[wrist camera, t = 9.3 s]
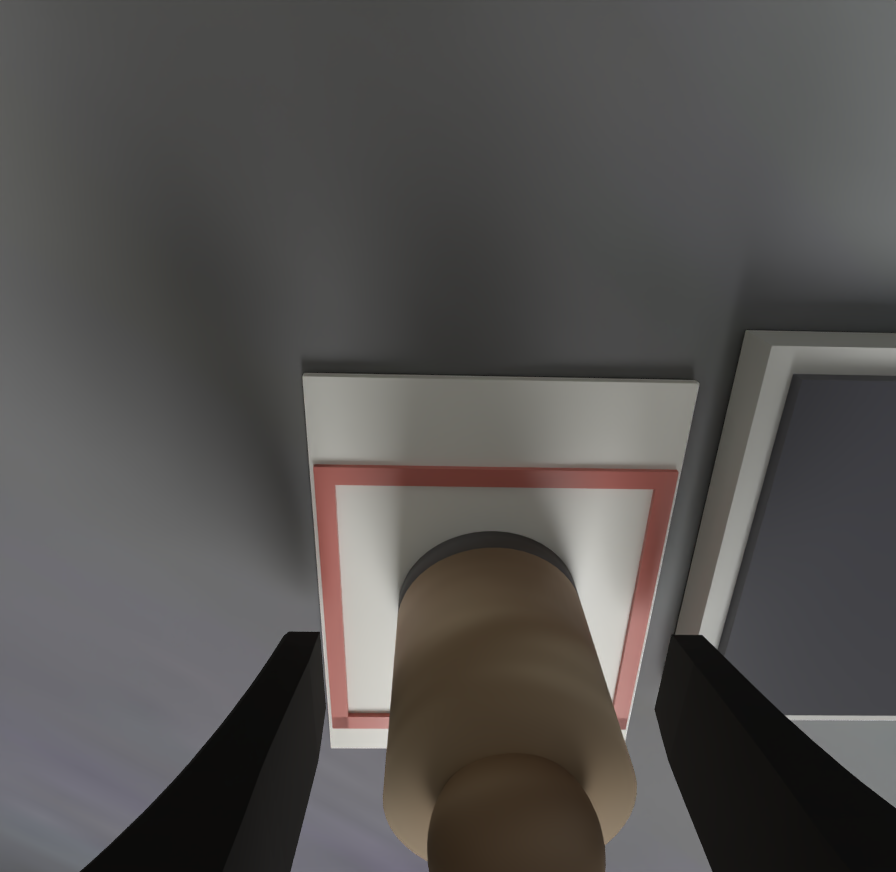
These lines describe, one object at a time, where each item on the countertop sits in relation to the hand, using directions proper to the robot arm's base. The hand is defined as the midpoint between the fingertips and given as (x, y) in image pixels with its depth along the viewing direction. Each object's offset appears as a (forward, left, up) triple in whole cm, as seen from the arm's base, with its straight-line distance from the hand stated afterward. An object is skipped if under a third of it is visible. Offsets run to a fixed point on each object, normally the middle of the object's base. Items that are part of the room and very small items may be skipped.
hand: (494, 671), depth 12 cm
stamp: (0, 0, -2) cm, 2 cm away
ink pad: (-8, -2, -2) cm, 8 cm away
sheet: (0, 0, -2) cm, 2 cm away
